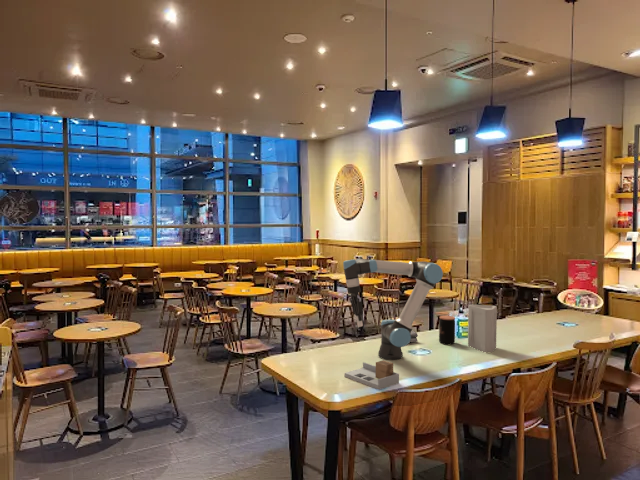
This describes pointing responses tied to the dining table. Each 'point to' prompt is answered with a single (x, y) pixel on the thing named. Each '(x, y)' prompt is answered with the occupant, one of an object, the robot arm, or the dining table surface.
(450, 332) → the coffee jar
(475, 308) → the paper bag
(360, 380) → the deck
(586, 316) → the dining table surface
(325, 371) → the dining table surface
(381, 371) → the block
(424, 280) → the robot arm
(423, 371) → the dining table surface
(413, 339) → the towel
